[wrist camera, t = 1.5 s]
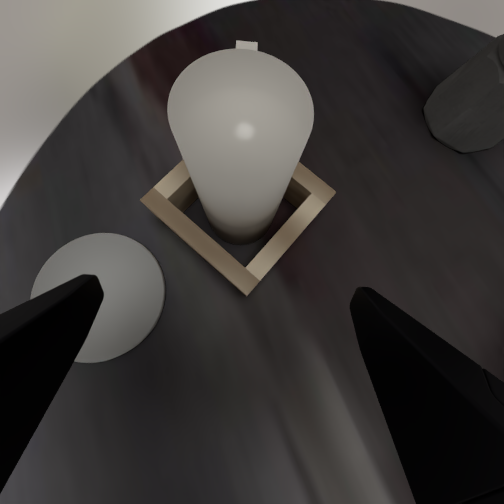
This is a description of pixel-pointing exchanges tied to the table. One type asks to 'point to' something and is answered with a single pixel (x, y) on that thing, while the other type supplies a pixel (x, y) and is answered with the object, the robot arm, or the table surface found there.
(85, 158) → the table surface
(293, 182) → the stand
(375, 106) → the table surface
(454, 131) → the coffeepot
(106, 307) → the mat
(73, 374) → the table surface
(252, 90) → the jug
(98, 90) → the table surface
